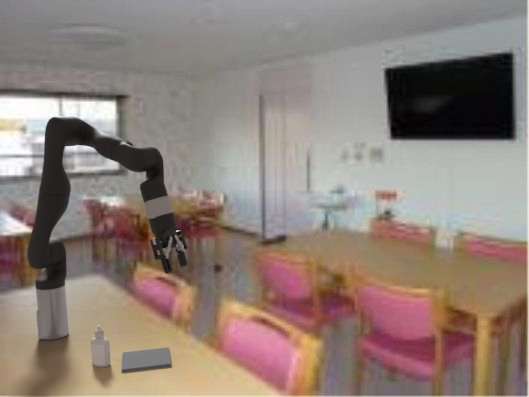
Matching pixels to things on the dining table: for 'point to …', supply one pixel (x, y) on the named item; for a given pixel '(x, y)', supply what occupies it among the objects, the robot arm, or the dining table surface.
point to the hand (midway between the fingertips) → (176, 269)
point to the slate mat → (146, 359)
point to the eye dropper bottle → (100, 349)
